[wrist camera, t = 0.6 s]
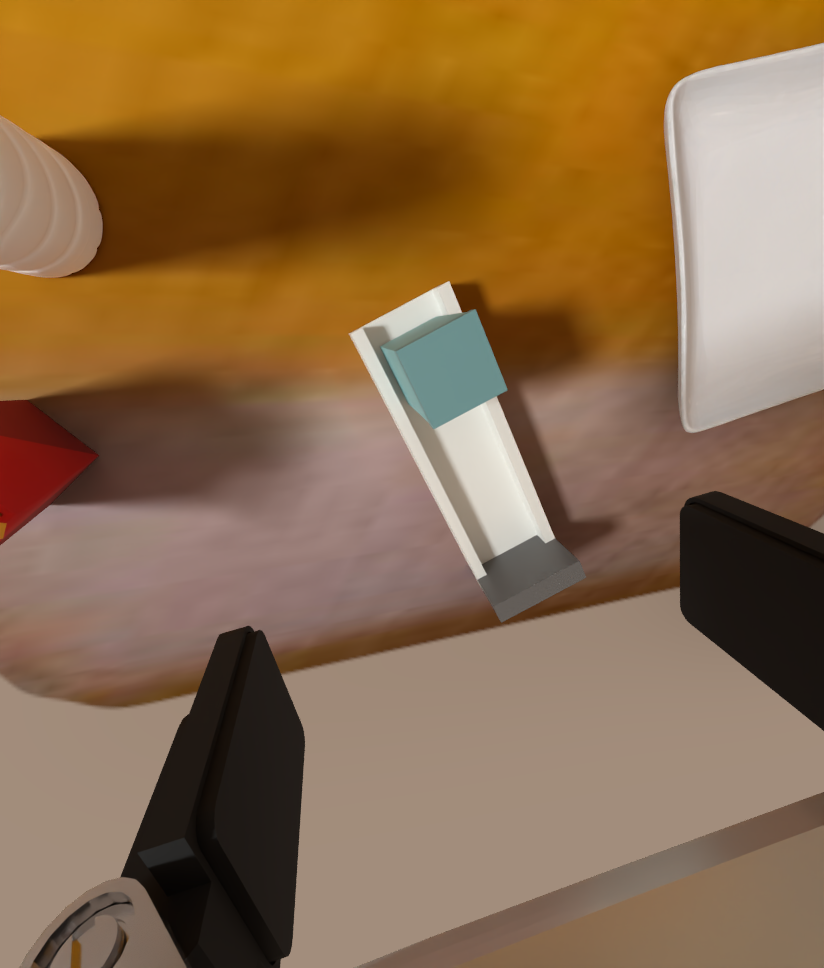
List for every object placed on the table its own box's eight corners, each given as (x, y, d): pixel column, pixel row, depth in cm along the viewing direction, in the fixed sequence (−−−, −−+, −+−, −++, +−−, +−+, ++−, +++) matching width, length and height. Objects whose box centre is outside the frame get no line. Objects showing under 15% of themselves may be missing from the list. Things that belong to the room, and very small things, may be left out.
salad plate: (928, 27, 29) (1003, -11, 26) (887, 354, 36) (941, 356, 33) (630, 105, 27) (670, 75, 24) (652, 429, 35) (685, 439, 32)
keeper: (436, 315, 28) (475, 309, 20) (462, 375, 29) (507, 390, 22) (378, 346, 28) (395, 351, 20) (407, 404, 29) (433, 429, 22)
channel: (439, 285, 28) (465, 274, 23) (546, 539, 36) (586, 577, 30) (348, 333, 28) (353, 333, 23) (475, 577, 36) (501, 622, 30)
